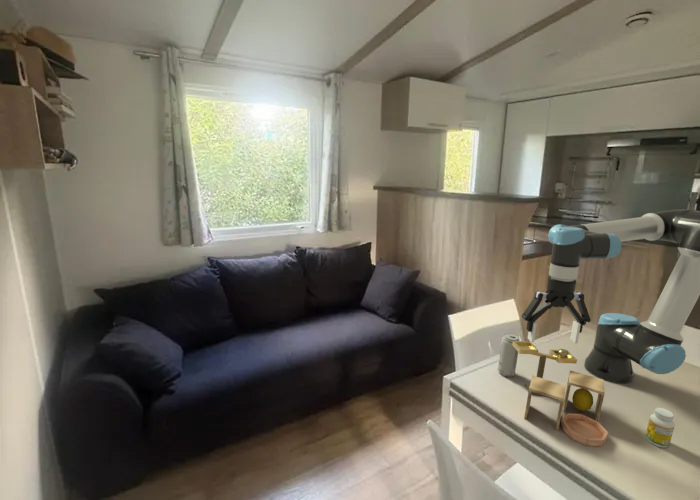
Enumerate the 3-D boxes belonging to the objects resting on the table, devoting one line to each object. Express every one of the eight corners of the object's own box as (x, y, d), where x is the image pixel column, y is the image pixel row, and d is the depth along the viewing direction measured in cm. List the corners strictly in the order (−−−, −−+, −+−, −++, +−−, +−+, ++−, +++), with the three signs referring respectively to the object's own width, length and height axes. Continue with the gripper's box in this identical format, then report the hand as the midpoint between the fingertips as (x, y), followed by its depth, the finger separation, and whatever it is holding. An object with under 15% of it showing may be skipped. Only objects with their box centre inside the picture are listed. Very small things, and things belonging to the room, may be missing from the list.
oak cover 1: (559, 415, 113) (565, 385, 110) (558, 431, 106) (564, 399, 104) (527, 404, 118) (532, 375, 115) (524, 418, 111) (529, 387, 109)
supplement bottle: (669, 451, 100) (677, 421, 98) (644, 441, 103) (652, 412, 101) (668, 440, 104) (676, 411, 102) (645, 431, 107) (652, 403, 105)
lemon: (593, 417, 113) (598, 395, 111) (574, 415, 114) (578, 392, 112) (586, 406, 118) (590, 384, 116) (567, 403, 119) (571, 382, 117)
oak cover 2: (597, 409, 117) (603, 379, 114) (597, 423, 110) (604, 392, 107) (564, 398, 121) (570, 370, 119) (563, 412, 115) (568, 382, 112)
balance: (560, 386, 128) (568, 343, 124) (569, 396, 122) (578, 352, 118) (506, 383, 129) (512, 340, 125) (513, 394, 123) (520, 349, 119)
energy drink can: (498, 367, 140) (503, 331, 136) (515, 371, 137) (521, 335, 133) (496, 374, 134) (501, 337, 131) (513, 379, 132) (519, 342, 128)
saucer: (590, 420, 111) (591, 414, 111) (614, 447, 101) (616, 441, 100) (554, 418, 112) (555, 412, 111) (574, 445, 101) (576, 439, 100)
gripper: (595, 274, 114) (584, 336, 119) (515, 273, 114) (508, 334, 119) (612, 282, 106) (599, 347, 111) (526, 280, 107) (517, 345, 112)
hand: (552, 341), depth 115 cm, fingers open, 13 cm apart
